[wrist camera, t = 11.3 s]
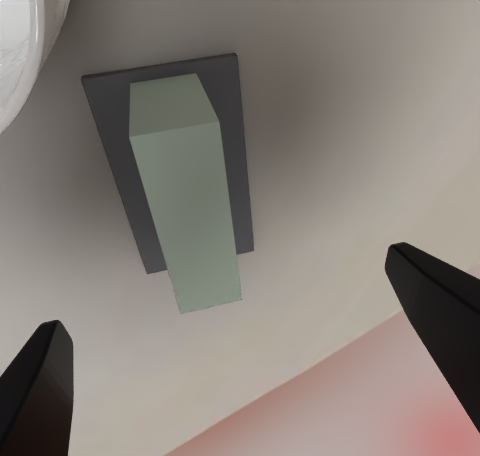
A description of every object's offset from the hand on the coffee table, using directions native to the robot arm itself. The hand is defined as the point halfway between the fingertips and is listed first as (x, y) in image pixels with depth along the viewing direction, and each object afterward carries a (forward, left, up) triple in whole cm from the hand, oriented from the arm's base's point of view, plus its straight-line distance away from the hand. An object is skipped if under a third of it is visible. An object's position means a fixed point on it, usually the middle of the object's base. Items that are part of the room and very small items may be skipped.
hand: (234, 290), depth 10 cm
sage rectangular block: (+1, +2, -11) cm, 11 cm away
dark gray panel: (+1, +3, -12) cm, 12 cm away
